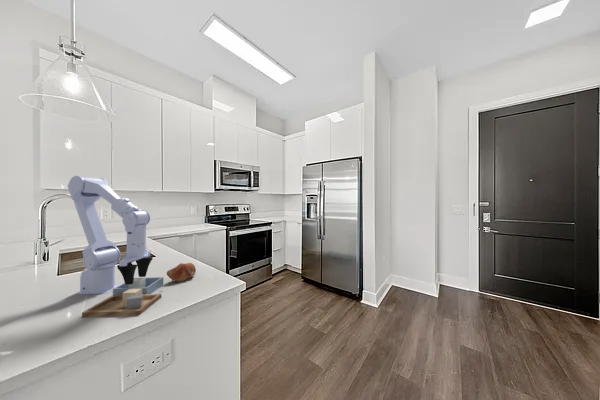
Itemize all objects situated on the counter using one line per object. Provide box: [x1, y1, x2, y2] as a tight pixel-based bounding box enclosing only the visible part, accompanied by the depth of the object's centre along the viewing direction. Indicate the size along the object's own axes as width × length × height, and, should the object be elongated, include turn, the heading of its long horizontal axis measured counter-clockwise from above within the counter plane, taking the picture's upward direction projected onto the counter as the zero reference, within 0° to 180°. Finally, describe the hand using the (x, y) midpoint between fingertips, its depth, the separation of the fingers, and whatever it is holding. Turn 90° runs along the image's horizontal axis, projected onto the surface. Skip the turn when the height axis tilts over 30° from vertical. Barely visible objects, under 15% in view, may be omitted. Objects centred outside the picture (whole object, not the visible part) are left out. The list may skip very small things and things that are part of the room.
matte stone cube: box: [127, 294, 143, 310], centre depth 70 cm, size 4×3×4 cm
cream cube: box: [122, 289, 142, 307], centre depth 73 cm, size 4×3×4 cm
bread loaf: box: [166, 262, 197, 283], centre depth 97 cm, size 13×8×10 cm
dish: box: [112, 276, 164, 295], centre depth 84 cm, size 11×11×4 cm
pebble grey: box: [129, 277, 147, 288], centre depth 82 cm, size 4×3×4 cm
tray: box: [81, 293, 162, 318], centre depth 72 cm, size 16×12×2 cm
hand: (135, 280), depth 82 cm, fingers open, 7 cm apart
